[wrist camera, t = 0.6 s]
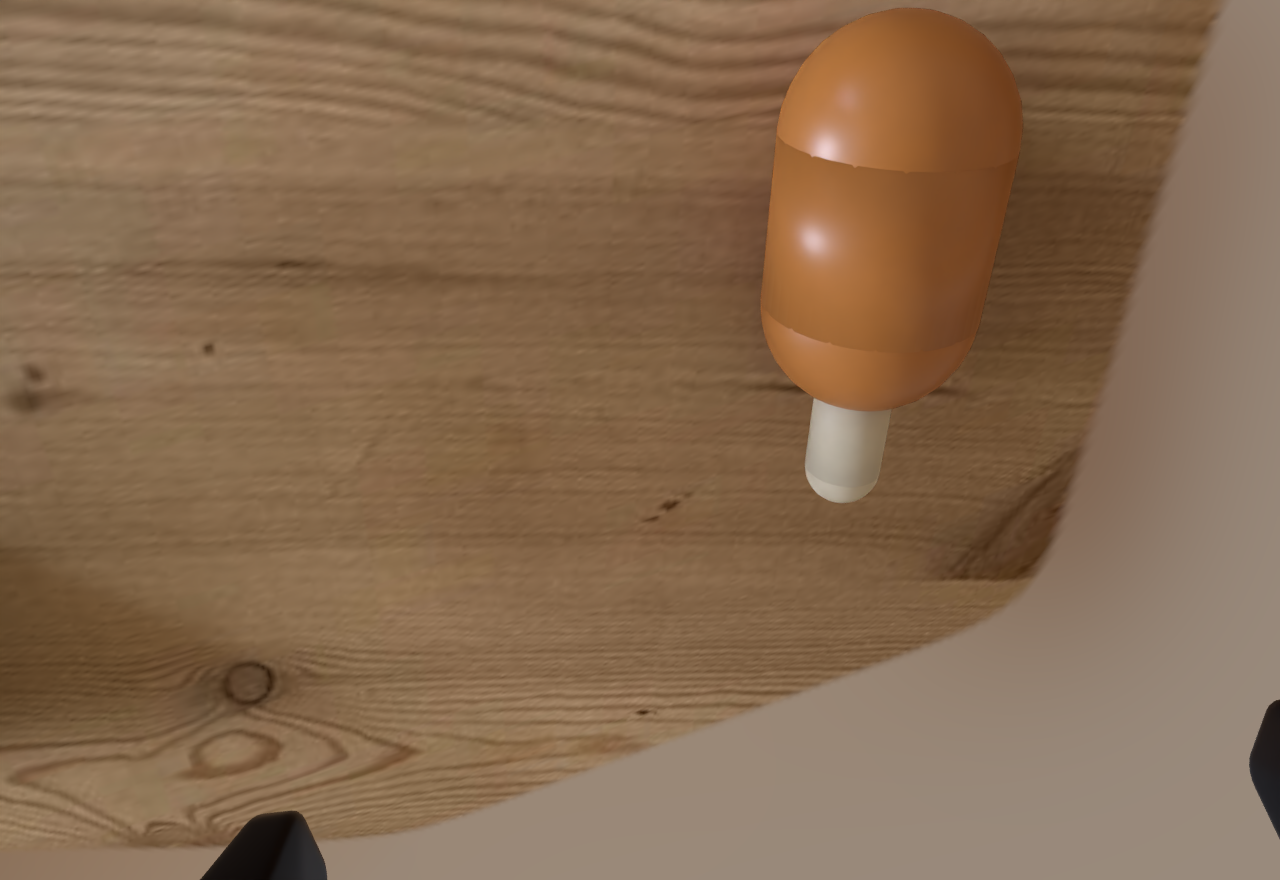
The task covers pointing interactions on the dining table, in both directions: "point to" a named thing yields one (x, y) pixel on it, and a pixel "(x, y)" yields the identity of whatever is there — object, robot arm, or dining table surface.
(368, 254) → the dining table surface
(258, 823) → the robot arm
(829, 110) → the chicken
